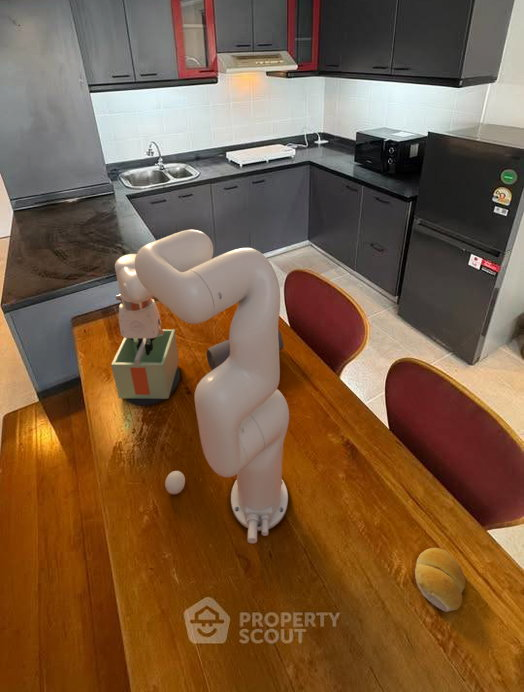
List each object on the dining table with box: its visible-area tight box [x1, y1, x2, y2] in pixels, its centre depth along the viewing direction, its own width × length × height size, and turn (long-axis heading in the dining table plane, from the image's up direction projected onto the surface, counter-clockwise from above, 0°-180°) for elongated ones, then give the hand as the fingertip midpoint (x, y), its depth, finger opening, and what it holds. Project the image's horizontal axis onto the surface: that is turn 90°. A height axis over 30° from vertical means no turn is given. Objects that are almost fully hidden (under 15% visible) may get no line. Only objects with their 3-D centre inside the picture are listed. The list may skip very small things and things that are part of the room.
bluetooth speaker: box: [206, 328, 284, 371], centre depth 118 cm, size 23×9×10 cm, turn 118°
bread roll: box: [414, 547, 466, 613], centre depth 71 cm, size 8×9×4 cm
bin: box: [110, 328, 180, 400], centre depth 110 cm, size 14×14×14 cm
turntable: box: [124, 366, 181, 407], centre depth 113 cm, size 17×17×1 cm
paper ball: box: [164, 470, 186, 495], centre depth 85 cm, size 4×4×4 cm
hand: (145, 351), depth 108 cm, fingers closed
